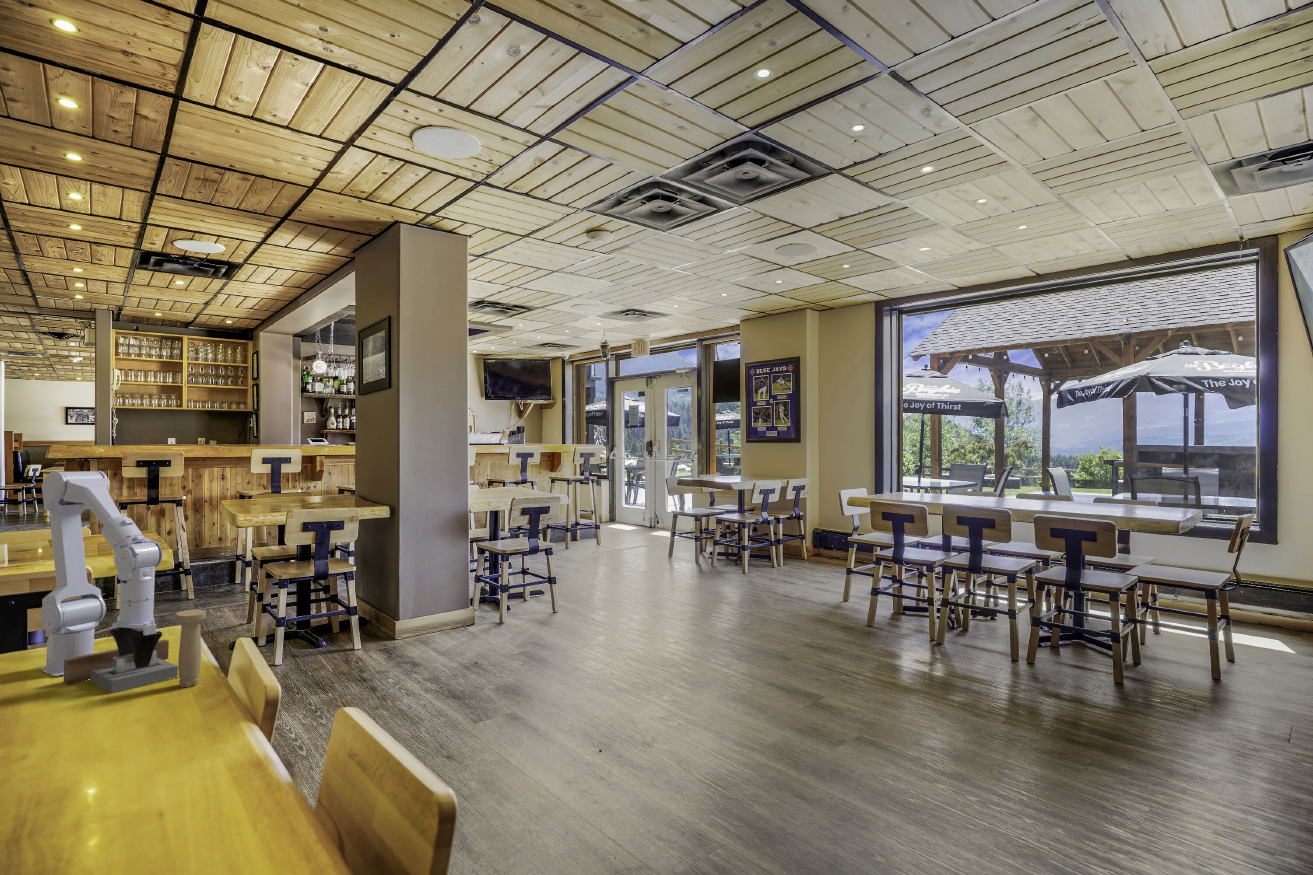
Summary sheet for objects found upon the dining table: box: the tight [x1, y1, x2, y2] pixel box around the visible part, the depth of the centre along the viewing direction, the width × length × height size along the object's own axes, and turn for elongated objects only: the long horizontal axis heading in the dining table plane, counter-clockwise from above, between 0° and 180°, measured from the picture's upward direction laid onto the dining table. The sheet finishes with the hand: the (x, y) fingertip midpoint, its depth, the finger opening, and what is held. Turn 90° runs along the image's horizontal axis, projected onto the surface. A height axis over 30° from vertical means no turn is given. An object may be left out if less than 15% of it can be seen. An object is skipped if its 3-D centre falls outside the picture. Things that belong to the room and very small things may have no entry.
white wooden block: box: [112, 650, 157, 675], centre depth 140 cm, size 2×7×6 cm, turn 147°
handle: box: [175, 609, 207, 688], centre depth 137 cm, size 5×6×15 cm
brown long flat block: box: [63, 639, 170, 686], centre depth 144 cm, size 2×18×5 cm, turn 147°
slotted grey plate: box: [89, 657, 179, 694], centre depth 140 cm, size 12×11×2 cm
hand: (134, 663), depth 140 cm, fingers open, 7 cm apart
